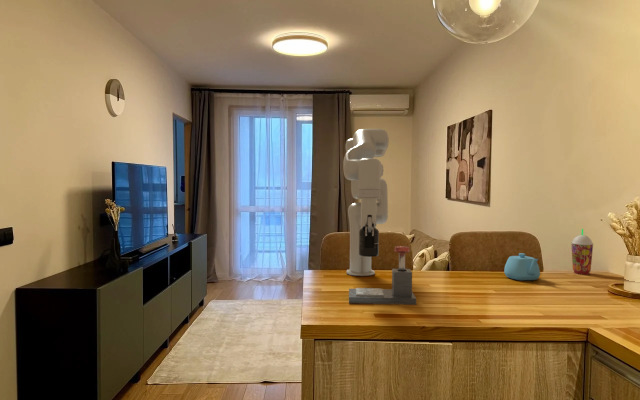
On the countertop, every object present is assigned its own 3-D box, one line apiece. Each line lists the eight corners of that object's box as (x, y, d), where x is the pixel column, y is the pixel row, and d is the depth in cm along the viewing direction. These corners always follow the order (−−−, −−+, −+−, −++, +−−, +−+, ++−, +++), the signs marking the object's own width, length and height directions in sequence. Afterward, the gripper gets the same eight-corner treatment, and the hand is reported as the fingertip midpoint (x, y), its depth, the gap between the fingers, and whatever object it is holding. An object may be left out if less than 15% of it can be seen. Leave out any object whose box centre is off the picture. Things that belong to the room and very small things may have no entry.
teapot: (524, 257, 167) (497, 251, 185) (524, 284, 168) (497, 275, 185) (552, 256, 170) (523, 250, 187) (552, 283, 170) (522, 274, 188)
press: (348, 294, 152) (349, 266, 152) (411, 295, 150) (411, 267, 150) (348, 303, 140) (348, 273, 140) (416, 304, 138) (416, 274, 138)
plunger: (393, 278, 147) (393, 245, 147) (408, 279, 147) (408, 246, 146) (395, 282, 142) (395, 248, 142) (410, 282, 142) (410, 248, 141)
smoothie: (567, 271, 194) (568, 227, 194) (586, 271, 193) (587, 228, 193) (575, 275, 186) (576, 229, 186) (596, 275, 185) (597, 229, 184)
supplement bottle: (378, 257, 141) (378, 221, 141) (357, 256, 143) (357, 221, 143) (379, 254, 148) (379, 220, 148) (359, 253, 150) (360, 219, 149)
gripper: (357, 194, 154) (357, 243, 154) (358, 194, 137) (358, 250, 137) (378, 194, 153) (378, 243, 154) (381, 195, 136) (381, 250, 136)
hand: (368, 246), depth 145 cm, fingers closed on supplement bottle, 6 cm apart
